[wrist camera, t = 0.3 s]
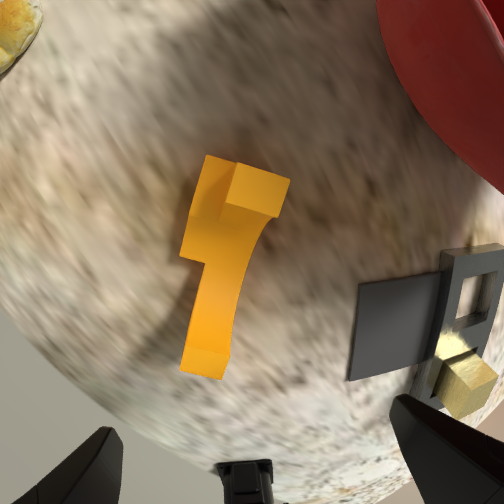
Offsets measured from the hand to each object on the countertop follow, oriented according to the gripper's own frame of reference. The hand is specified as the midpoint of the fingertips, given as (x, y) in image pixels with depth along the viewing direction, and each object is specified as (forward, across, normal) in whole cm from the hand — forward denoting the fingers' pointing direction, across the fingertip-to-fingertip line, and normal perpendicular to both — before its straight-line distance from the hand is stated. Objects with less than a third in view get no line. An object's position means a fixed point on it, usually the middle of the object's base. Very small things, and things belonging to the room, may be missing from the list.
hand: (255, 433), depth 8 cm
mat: (+14, -14, +7) cm, 21 cm away
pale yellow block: (+14, -22, +14) cm, 30 cm away
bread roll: (+15, +19, -24) cm, 34 cm away
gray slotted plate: (+14, -22, +10) cm, 28 cm away
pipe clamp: (+15, +1, -2) cm, 15 cm away
